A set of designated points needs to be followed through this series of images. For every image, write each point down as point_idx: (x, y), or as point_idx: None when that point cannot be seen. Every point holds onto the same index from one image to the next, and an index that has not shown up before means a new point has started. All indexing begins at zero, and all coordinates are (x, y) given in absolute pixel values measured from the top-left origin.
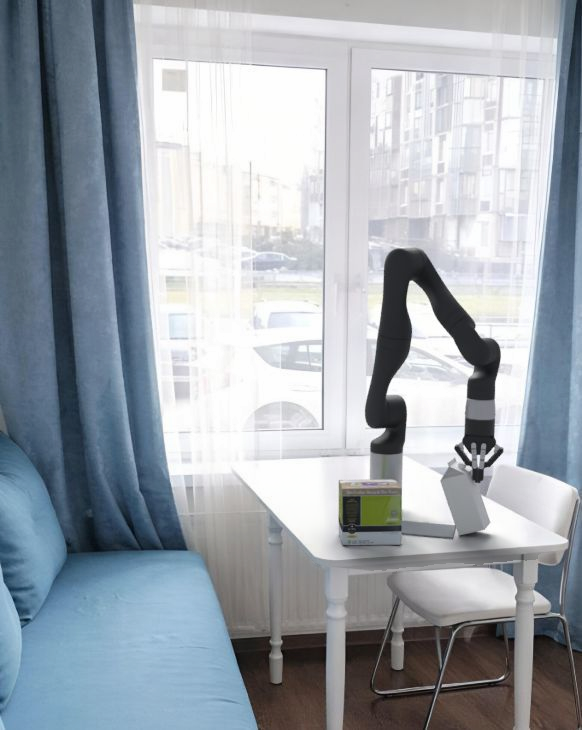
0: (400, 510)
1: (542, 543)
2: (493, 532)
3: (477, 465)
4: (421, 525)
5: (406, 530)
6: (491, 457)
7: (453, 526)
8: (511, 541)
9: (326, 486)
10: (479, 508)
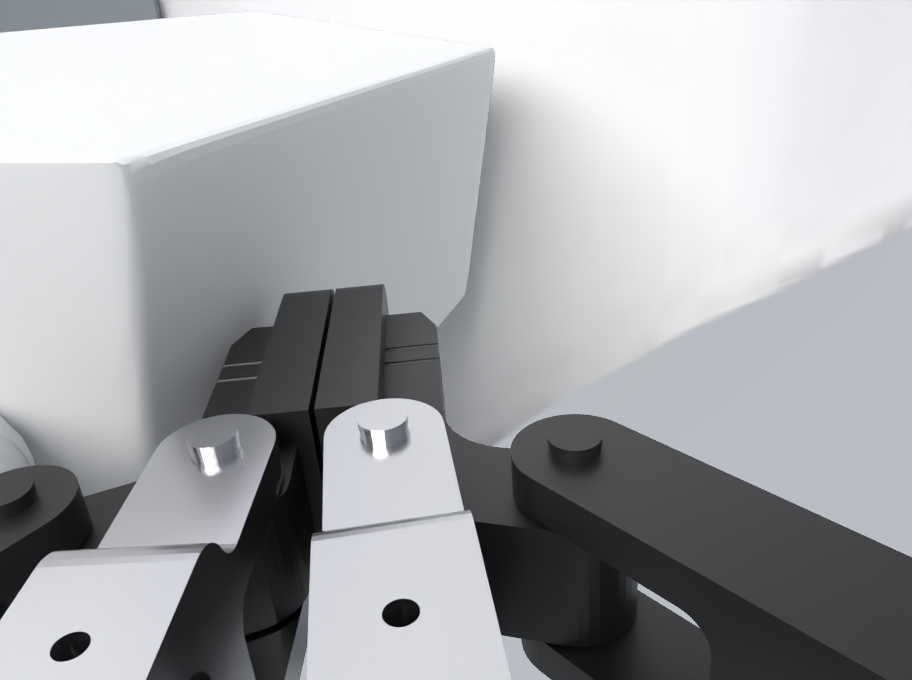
0: None
1: (901, 175)
2: (514, 14)
3: (299, 524)
4: None
5: None
6: (687, 598)
7: (138, 15)
8: (665, 215)
9: None
10: (408, 306)
